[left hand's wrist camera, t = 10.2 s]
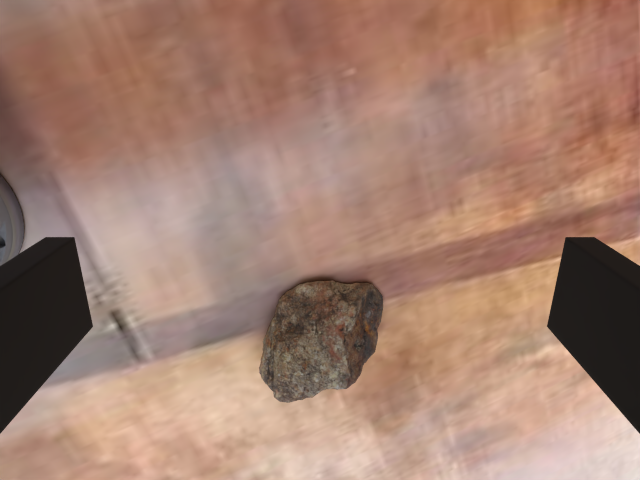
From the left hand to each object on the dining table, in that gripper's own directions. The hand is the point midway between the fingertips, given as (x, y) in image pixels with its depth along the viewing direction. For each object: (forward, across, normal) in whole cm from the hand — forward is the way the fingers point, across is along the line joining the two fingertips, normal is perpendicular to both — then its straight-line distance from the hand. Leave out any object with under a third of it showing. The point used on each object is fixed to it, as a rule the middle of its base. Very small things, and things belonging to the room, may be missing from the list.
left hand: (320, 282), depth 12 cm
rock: (+34, 0, +21) cm, 40 cm away
